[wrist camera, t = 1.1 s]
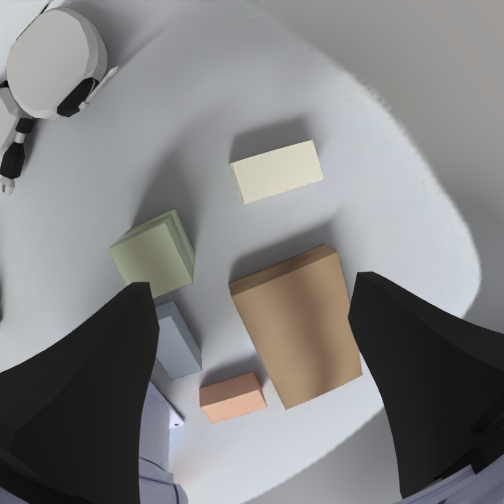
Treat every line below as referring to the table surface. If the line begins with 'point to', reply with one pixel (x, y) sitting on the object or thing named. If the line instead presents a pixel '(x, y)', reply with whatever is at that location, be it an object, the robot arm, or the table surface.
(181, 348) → the slate brick
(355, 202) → the table surface
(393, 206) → the table surface
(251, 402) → the terracotta brick
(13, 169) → the robot toy
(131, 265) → the sage block
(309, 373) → the walnut slab
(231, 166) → the cream brick
